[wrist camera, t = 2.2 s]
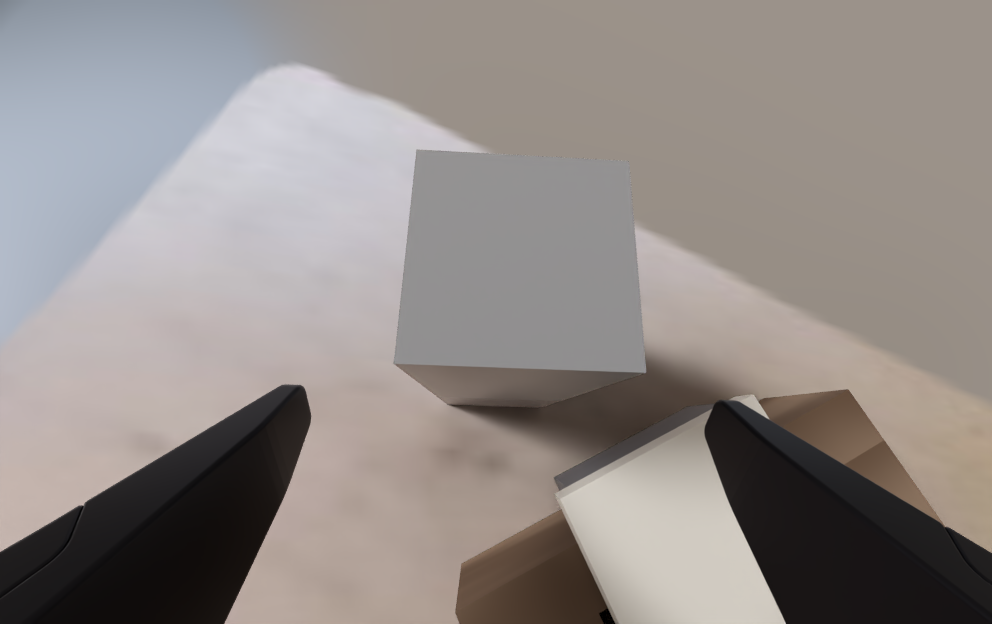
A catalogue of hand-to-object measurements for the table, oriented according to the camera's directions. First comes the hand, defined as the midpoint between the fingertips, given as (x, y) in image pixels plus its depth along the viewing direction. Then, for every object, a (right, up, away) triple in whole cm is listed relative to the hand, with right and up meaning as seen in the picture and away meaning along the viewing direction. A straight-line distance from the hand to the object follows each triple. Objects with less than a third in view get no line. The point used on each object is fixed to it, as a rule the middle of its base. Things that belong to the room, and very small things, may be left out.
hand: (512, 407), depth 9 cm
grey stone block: (0, 0, +10) cm, 10 cm away
